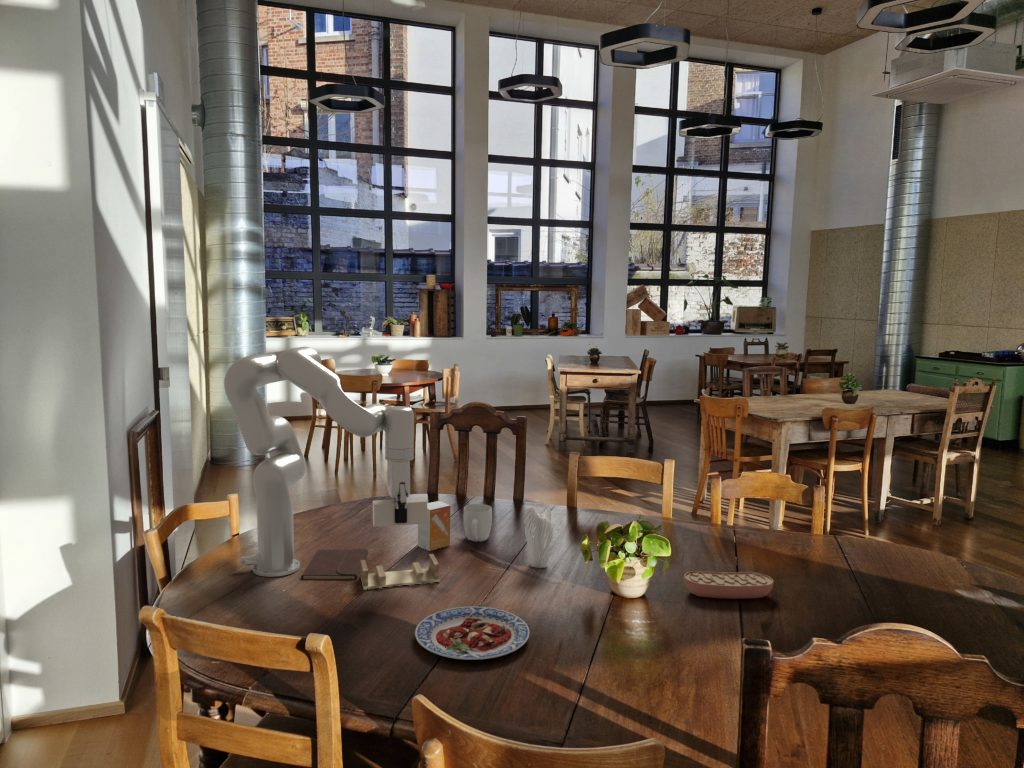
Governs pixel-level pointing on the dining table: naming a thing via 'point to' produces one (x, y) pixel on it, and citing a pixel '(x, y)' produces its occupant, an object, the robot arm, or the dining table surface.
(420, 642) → the ceramic plate
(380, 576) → the rack
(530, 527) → the white fluted vase
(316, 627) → the dining table surface
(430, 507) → the small box
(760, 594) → the oval trinket tray
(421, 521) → the clay bar
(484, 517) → the mug
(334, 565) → the notebook
